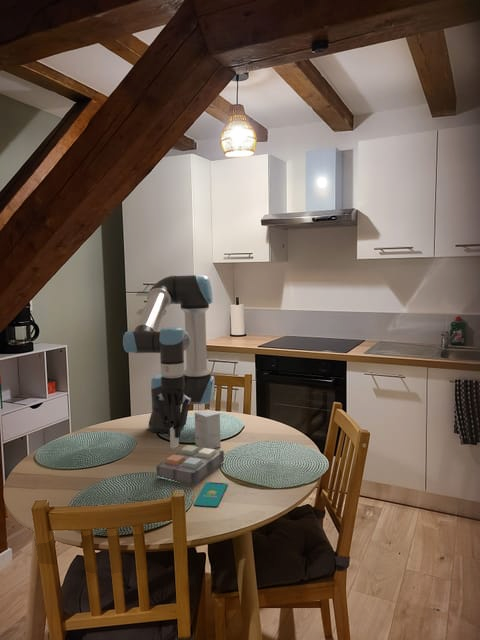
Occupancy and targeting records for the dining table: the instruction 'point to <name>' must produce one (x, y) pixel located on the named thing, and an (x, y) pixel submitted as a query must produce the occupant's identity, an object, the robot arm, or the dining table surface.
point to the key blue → (192, 463)
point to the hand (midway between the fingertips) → (174, 446)
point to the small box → (207, 429)
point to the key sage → (190, 450)
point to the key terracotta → (175, 460)
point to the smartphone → (211, 494)
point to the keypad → (190, 469)
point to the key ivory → (206, 453)
